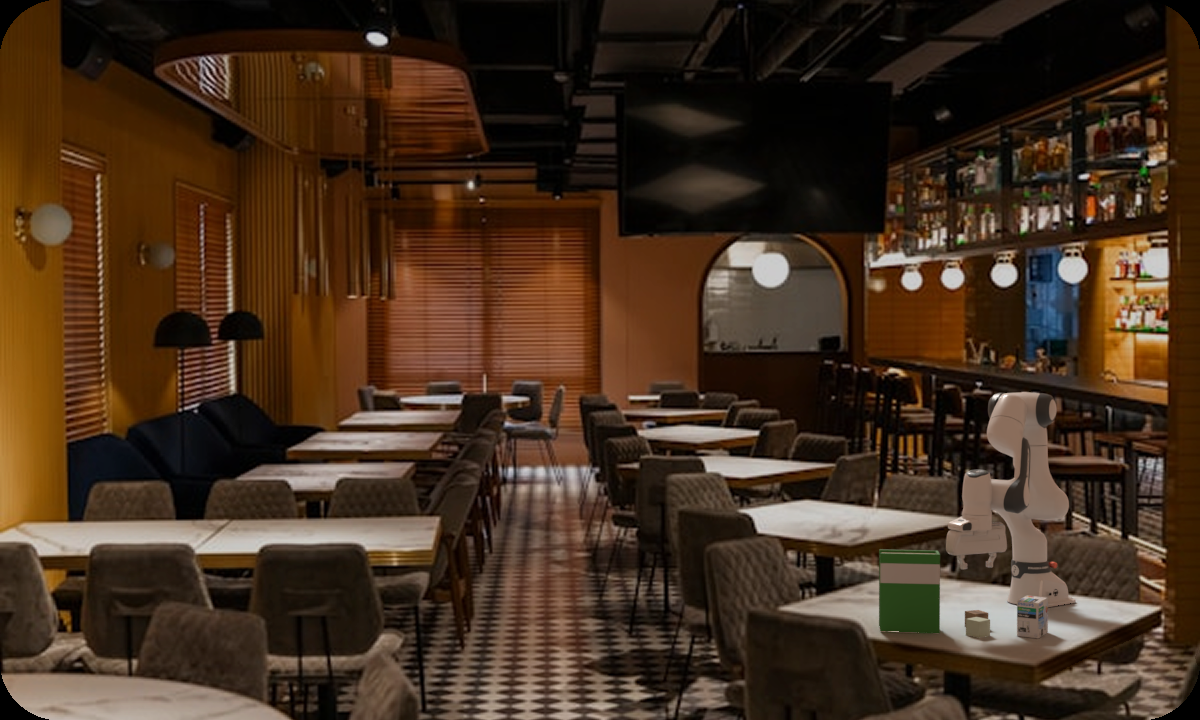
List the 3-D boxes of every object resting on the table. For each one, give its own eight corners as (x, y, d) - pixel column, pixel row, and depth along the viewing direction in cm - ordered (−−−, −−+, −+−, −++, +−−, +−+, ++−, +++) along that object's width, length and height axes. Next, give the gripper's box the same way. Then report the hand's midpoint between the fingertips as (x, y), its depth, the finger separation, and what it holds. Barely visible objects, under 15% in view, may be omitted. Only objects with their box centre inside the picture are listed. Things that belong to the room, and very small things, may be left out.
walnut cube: (978, 625, 454) (978, 609, 454) (988, 629, 449) (988, 612, 449) (964, 627, 452) (964, 611, 452) (974, 630, 447) (974, 614, 447)
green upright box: (880, 632, 445) (880, 553, 444) (878, 626, 452) (879, 549, 452) (939, 633, 443) (940, 554, 442) (937, 628, 450) (937, 550, 449)
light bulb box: (1038, 639, 435) (1039, 603, 435) (1016, 636, 438) (1016, 600, 438) (1048, 632, 444) (1048, 597, 444) (1026, 630, 447) (1026, 594, 447)
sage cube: (976, 633, 443) (976, 616, 443) (990, 636, 439) (990, 619, 439) (965, 635, 440) (965, 618, 440) (979, 638, 436) (979, 621, 436)
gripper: (998, 520, 456) (998, 564, 457) (943, 523, 449) (942, 568, 449) (1011, 522, 450) (1011, 567, 451) (955, 526, 443) (955, 571, 443)
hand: (976, 568), depth 450 cm, fingers open, 8 cm apart
